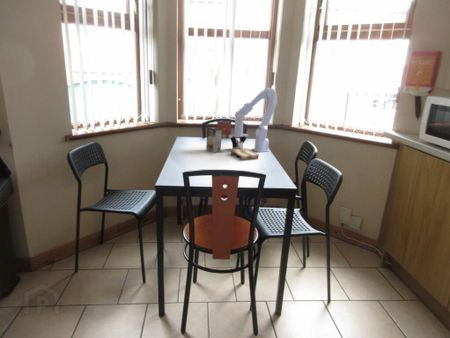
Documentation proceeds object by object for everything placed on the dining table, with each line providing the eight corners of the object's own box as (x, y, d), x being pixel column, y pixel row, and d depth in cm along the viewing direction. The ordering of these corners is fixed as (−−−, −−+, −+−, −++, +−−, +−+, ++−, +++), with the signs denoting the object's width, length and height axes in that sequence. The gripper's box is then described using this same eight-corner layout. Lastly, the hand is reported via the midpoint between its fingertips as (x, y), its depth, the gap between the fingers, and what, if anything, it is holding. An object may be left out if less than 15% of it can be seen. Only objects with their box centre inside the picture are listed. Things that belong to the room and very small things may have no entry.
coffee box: (205, 150, 218) (206, 127, 213) (212, 149, 222) (213, 126, 217) (214, 153, 211) (215, 129, 206) (221, 152, 215) (222, 129, 210)
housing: (236, 148, 227) (237, 139, 225) (242, 151, 221) (243, 142, 219) (232, 148, 225) (232, 139, 223) (237, 151, 219) (238, 142, 217)
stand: (245, 152, 217) (245, 148, 216) (258, 158, 204) (258, 154, 203) (230, 153, 212) (230, 149, 211) (242, 160, 198) (242, 155, 197)
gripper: (244, 126, 225) (243, 145, 229) (227, 127, 218) (225, 146, 222) (249, 128, 219) (248, 147, 223) (231, 129, 212) (230, 149, 216)
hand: (237, 147), depth 222 cm, fingers open, 5 cm apart
